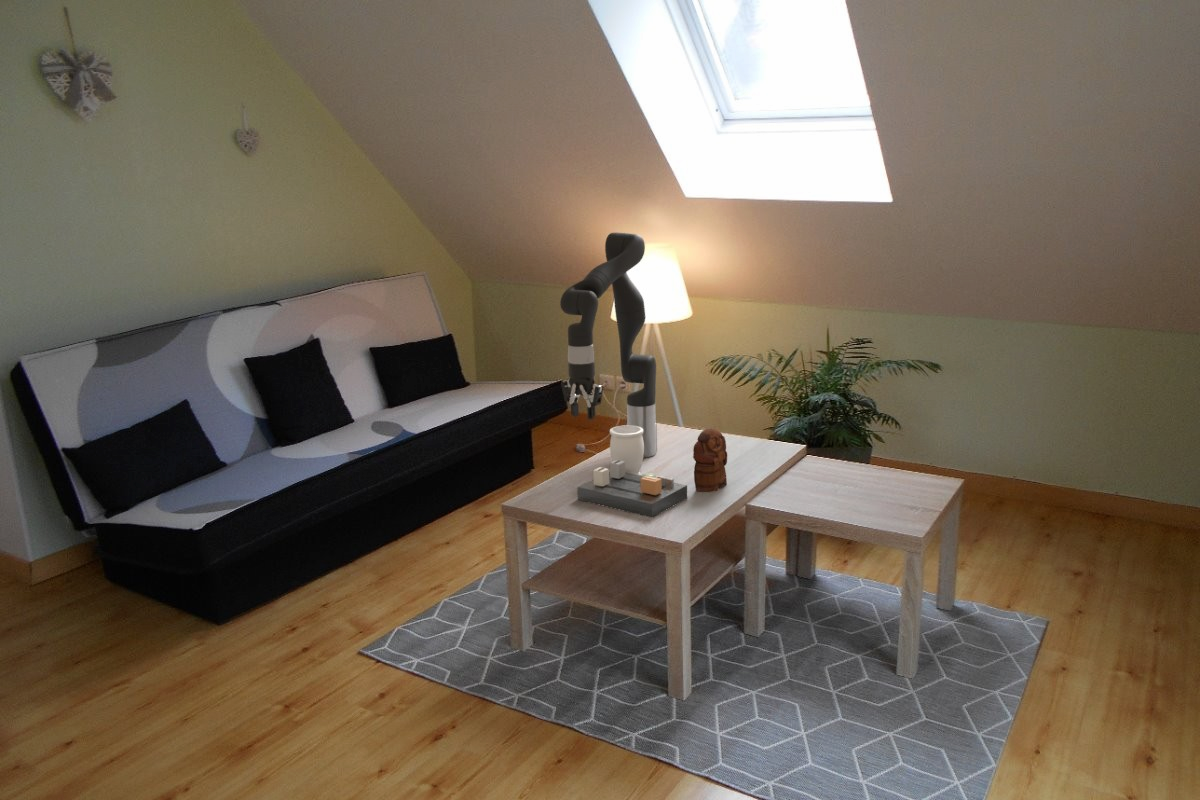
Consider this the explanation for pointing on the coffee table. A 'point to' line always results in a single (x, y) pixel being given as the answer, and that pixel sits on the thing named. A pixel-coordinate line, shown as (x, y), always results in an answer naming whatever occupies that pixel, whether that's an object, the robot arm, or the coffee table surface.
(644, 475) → the pale green dome
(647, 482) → the tan box with strip
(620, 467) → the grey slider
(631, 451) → the jar
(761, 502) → the coffee table surface
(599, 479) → the ivory slider
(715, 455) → the wooden figurine
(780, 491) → the coffee table surface
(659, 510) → the panel
